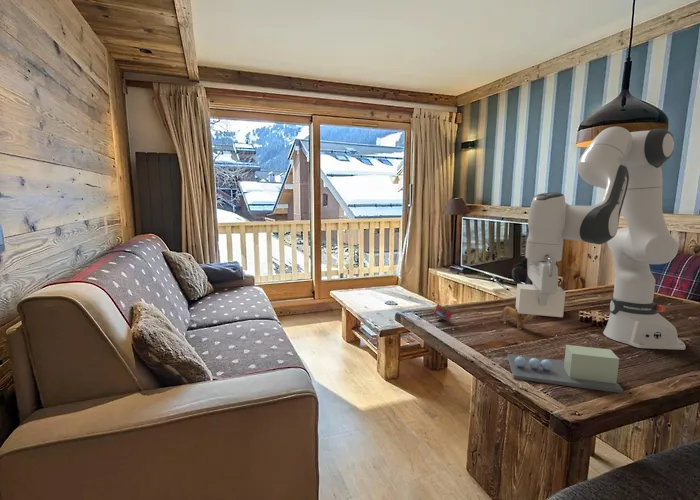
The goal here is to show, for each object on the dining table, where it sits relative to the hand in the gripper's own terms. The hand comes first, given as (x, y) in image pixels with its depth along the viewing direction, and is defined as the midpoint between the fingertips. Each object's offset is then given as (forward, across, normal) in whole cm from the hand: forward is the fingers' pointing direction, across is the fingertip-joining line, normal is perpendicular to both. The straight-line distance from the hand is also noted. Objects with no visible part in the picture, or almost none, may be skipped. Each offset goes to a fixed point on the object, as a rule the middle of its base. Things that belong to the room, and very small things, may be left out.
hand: (539, 301), depth 102 cm
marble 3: (+20, 0, -3) cm, 20 cm away
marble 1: (+20, 0, +3) cm, 20 cm away
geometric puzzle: (+21, +36, +27) cm, 50 cm away
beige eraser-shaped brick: (+3, 0, 0) cm, 3 cm away
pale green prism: (+20, 0, -14) cm, 24 cm away
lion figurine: (+21, +39, 0) cm, 44 cm away
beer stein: (+21, +62, -12) cm, 67 cm away
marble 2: (+20, 0, 0) cm, 20 cm away
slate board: (+21, +1, -7) cm, 22 cm away
